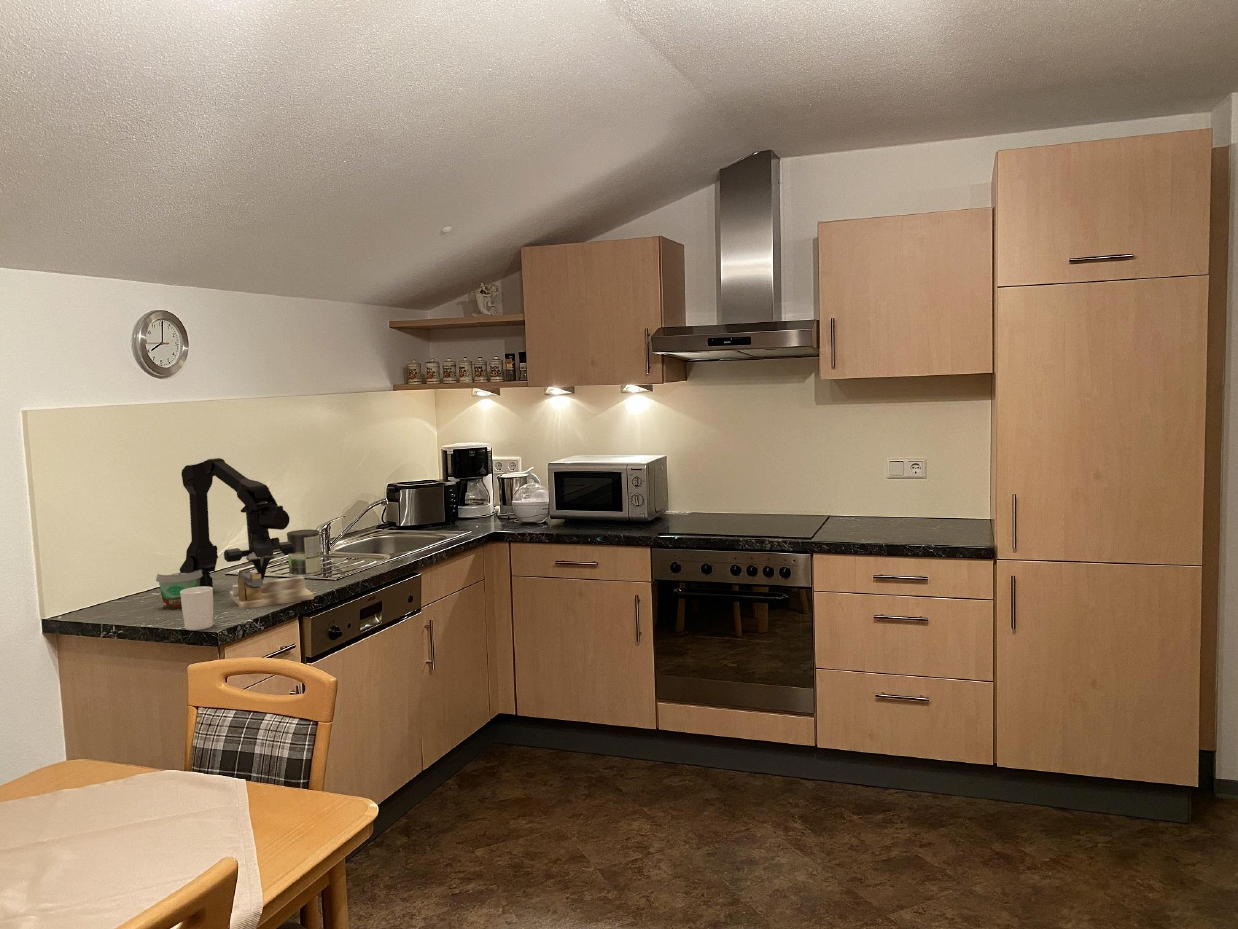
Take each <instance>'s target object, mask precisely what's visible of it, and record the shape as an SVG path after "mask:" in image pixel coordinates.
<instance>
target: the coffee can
mask: <svg viewBox="0 0 1238 929" xmlns="http://www.w3.org/2000/svg"><path fill="white" fill-rule="evenodd" d="M286 536H287V541H289V542H290V543H292V544H293V545H294V547H295V553H291V554H287V558H288V575H289V576H290V577H300V576H302V577H304V578H306V577H312V576H313V577H314V576H317V575H319V574H321V573H322V567H321V566H322V565H321V549H320V548H321V546H320V530H319V529H299V530H298V529H297V530H291V531H288V532H287V533H286ZM287 541H286V542H287Z"/></svg>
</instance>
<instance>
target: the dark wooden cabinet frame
mask: <svg viewBox="0 0 1238 929" xmlns="http://www.w3.org/2000/svg"><path fill="white" fill-rule="evenodd" d="M239 577H242V578H244V582H245V583H246V584H248V585H250V586H251V587H257V586H263V581H264V580H263V579H262V578H261V574H260V573H258V572H251V571H250V570H241V571H238V572H237V579H238V578H239Z"/></svg>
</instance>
